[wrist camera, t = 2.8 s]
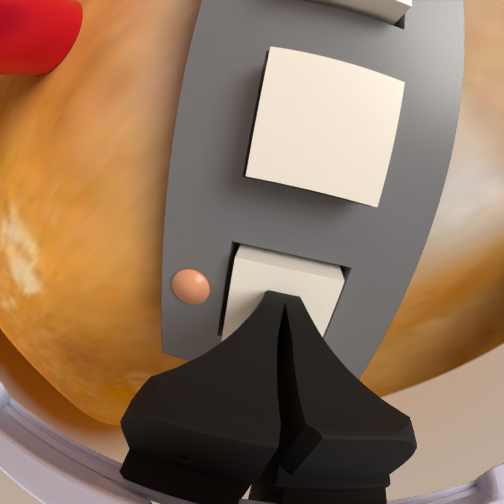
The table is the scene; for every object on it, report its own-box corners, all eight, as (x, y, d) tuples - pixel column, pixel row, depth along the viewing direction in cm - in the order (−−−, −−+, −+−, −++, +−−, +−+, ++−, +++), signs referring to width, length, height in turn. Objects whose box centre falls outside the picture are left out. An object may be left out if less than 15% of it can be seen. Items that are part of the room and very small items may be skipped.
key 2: (333, 247, 13) (344, 281, 10) (310, 317, 14) (312, 359, 11) (248, 228, 13) (234, 257, 10) (235, 301, 15) (221, 341, 12)
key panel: (437, -27, 6) (458, -47, 3) (346, 359, 15) (351, 394, 13) (247, -74, 6) (238, -102, 4) (177, 324, 16) (160, 355, 13)
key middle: (375, 95, 9) (404, 82, 6) (355, 188, 11) (377, 207, 8) (276, 70, 9) (270, 46, 6) (258, 165, 11) (245, 176, 8)
